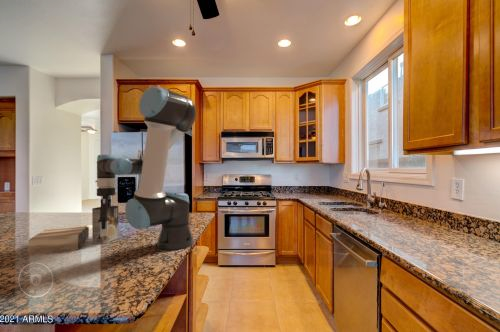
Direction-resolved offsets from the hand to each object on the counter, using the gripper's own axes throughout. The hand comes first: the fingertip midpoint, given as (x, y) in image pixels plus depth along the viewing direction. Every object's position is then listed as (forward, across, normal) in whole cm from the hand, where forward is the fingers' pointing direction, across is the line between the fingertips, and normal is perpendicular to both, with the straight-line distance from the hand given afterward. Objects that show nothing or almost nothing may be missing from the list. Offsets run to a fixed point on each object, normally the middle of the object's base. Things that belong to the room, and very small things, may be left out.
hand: (105, 232), depth 111 cm
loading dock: (+4, 0, -17) cm, 17 cm away
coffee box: (+4, 0, 0) cm, 4 cm away
